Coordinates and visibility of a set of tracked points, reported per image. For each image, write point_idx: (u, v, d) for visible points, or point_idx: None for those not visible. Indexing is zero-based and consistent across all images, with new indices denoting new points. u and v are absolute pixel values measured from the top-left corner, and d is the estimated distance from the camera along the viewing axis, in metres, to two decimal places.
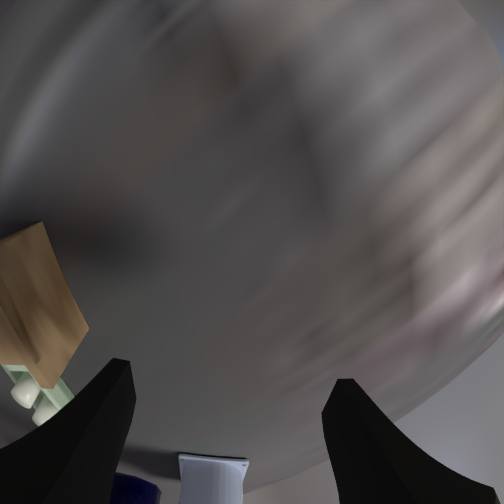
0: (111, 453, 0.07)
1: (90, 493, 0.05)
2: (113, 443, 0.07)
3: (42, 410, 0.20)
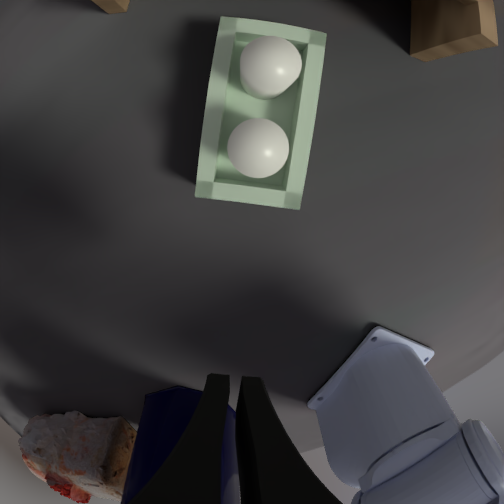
0: None
1: None
2: None
3: None
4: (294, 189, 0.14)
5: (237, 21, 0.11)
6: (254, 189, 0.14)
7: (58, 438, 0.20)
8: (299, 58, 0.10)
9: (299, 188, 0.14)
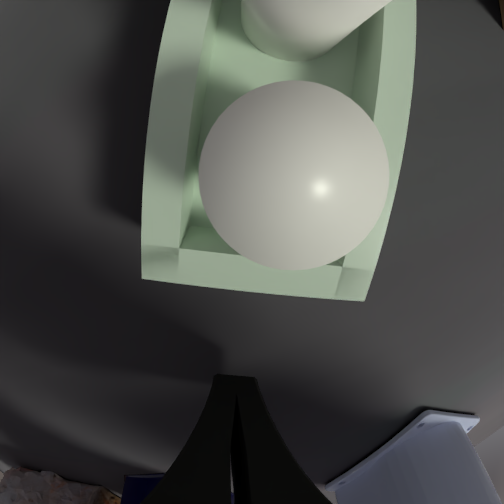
0: None
1: None
2: None
3: None
4: (360, 262, 0.06)
5: None
6: None
7: (34, 503, 0.12)
8: None
9: (370, 259, 0.06)
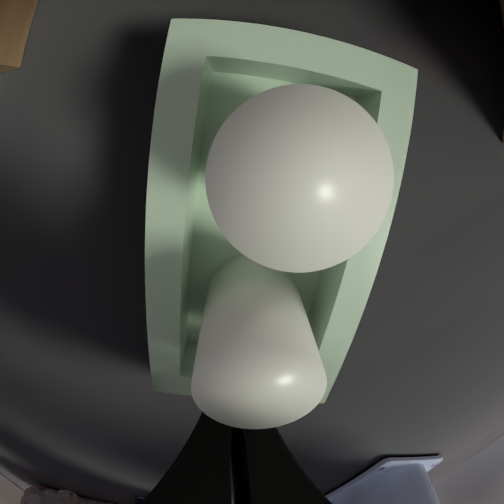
0: None
1: None
2: None
3: (290, 313, 0.05)
4: None
5: (212, 27, 0.04)
6: None
7: None
8: (389, 169, 0.03)
9: (328, 379, 0.07)
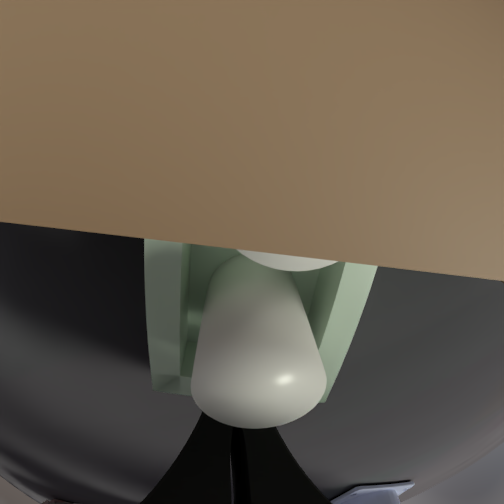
0: None
1: None
2: None
3: (289, 312, 0.05)
4: None
5: None
6: None
7: None
8: None
9: (329, 379, 0.07)
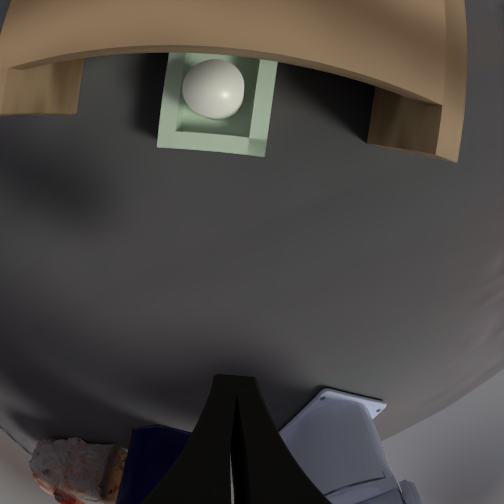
0: None
1: None
2: None
3: None
4: (258, 135, 0.13)
5: None
6: (216, 137, 0.13)
7: (63, 461, 0.22)
8: None
9: (263, 134, 0.13)
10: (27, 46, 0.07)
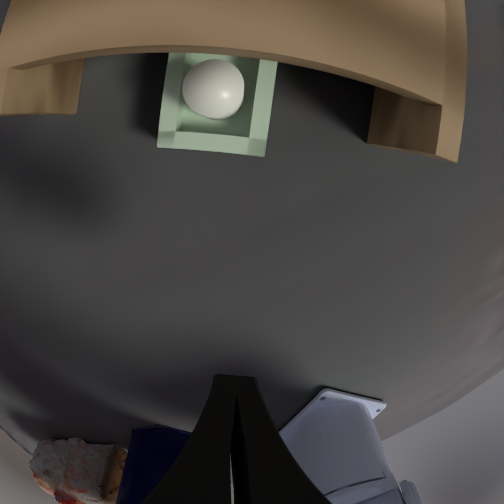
0: None
1: None
2: None
3: None
4: (258, 135, 0.13)
5: None
6: (216, 137, 0.13)
7: (63, 461, 0.22)
8: None
9: (263, 134, 0.13)
10: (27, 46, 0.07)
